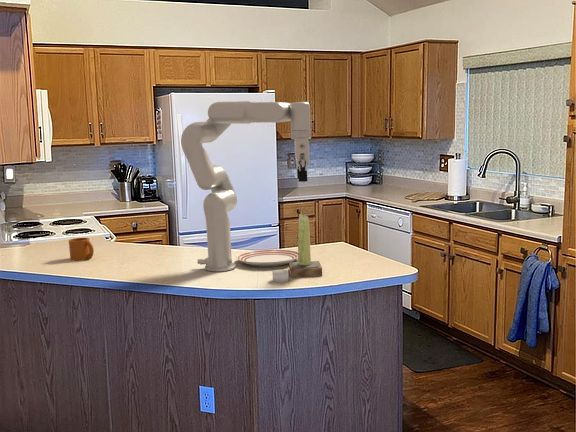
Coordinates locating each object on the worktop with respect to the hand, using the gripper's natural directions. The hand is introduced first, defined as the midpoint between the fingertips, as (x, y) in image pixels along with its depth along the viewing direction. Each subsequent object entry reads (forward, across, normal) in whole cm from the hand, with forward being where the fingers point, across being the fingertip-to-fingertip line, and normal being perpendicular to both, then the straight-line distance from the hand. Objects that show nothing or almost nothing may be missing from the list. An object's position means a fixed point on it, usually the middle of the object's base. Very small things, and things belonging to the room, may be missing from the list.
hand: (302, 180), depth 238 cm
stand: (+36, 0, 0) cm, 36 cm away
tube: (+33, 0, 0) cm, 33 cm away
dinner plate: (+37, +21, +14) cm, 44 cm away
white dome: (+36, -10, +10) cm, 39 cm away
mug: (+37, +42, +98) cm, 112 cm away
